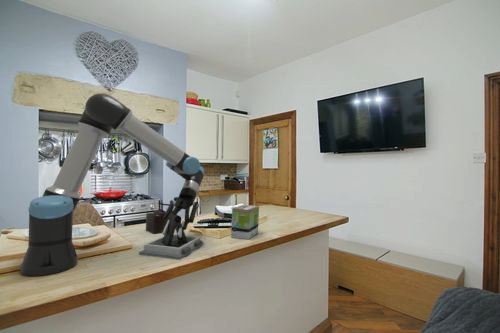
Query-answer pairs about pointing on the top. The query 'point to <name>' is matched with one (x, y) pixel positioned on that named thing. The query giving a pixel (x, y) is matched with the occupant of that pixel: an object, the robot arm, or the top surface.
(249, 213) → the tea box
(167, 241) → the dark grey triangular stand
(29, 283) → the top surface
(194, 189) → the robot arm
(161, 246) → the tray
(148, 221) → the dark brown handled box
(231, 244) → the top surface
